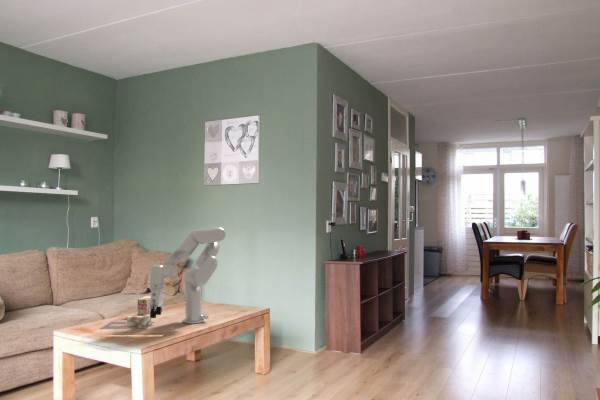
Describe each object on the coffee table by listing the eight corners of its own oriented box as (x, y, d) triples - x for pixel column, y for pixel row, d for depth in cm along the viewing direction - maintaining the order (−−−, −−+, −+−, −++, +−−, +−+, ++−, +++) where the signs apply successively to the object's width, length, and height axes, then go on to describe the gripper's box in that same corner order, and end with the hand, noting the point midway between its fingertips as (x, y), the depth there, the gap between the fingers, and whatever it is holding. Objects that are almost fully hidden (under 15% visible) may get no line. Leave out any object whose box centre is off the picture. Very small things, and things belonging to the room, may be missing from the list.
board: (154, 323, 297) (154, 321, 297) (145, 330, 279) (145, 328, 279) (111, 323, 297) (111, 321, 297) (98, 330, 279) (98, 328, 279)
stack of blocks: (153, 311, 331) (153, 293, 332) (162, 312, 330) (162, 293, 330) (137, 318, 310) (137, 298, 311) (146, 319, 309) (146, 299, 309)
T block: (151, 322, 294) (151, 314, 294) (144, 327, 282) (144, 318, 282) (131, 322, 294) (131, 314, 294) (124, 327, 282) (124, 318, 282)
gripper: (158, 288, 279) (157, 319, 279) (167, 284, 297) (166, 313, 296) (145, 288, 279) (144, 319, 279) (154, 284, 297) (153, 313, 296)
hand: (155, 316), depth 287 cm, fingers open, 9 cm apart
